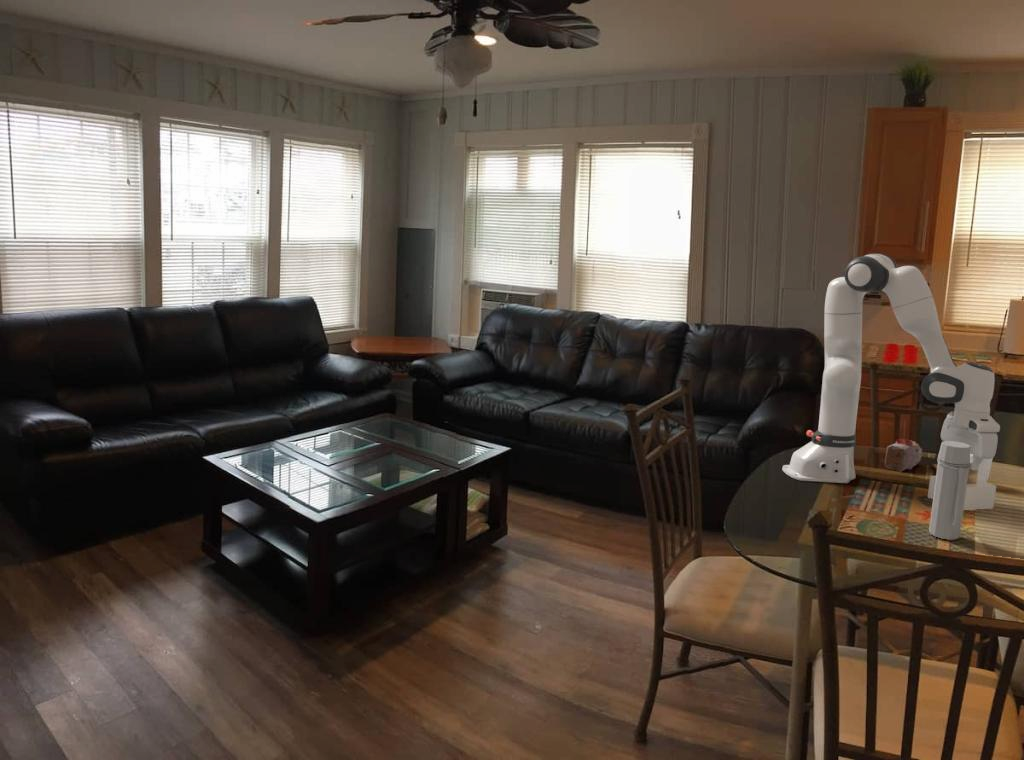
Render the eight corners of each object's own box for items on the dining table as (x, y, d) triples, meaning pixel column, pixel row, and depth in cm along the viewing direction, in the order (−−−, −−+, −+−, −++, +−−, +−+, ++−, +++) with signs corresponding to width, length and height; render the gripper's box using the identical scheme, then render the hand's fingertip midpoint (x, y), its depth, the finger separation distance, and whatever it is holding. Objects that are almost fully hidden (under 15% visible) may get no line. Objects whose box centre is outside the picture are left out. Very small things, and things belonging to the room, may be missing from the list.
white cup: (992, 489, 247) (997, 458, 245) (965, 486, 248) (969, 456, 246) (983, 481, 254) (987, 451, 252) (956, 479, 256) (960, 449, 254)
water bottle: (922, 530, 211) (934, 439, 207) (953, 531, 211) (965, 441, 206) (937, 543, 202) (949, 449, 198) (969, 545, 202) (982, 450, 197)
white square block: (959, 512, 226) (962, 489, 225) (927, 498, 238) (930, 476, 236) (993, 509, 230) (996, 486, 228) (959, 495, 241) (962, 473, 240)
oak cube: (959, 483, 230) (962, 467, 229) (949, 478, 234) (951, 462, 234) (976, 483, 230) (978, 467, 229) (965, 478, 235) (967, 462, 234)
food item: (897, 460, 276) (901, 433, 274) (922, 465, 270) (925, 438, 268) (881, 468, 266) (884, 439, 264) (906, 473, 261) (909, 445, 259)
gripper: (938, 409, 239) (931, 453, 241) (983, 427, 219) (974, 475, 222) (958, 410, 239) (951, 454, 242) (1004, 428, 219) (996, 475, 222)
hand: (963, 464), depth 232 cm, fingers open, 8 cm apart
